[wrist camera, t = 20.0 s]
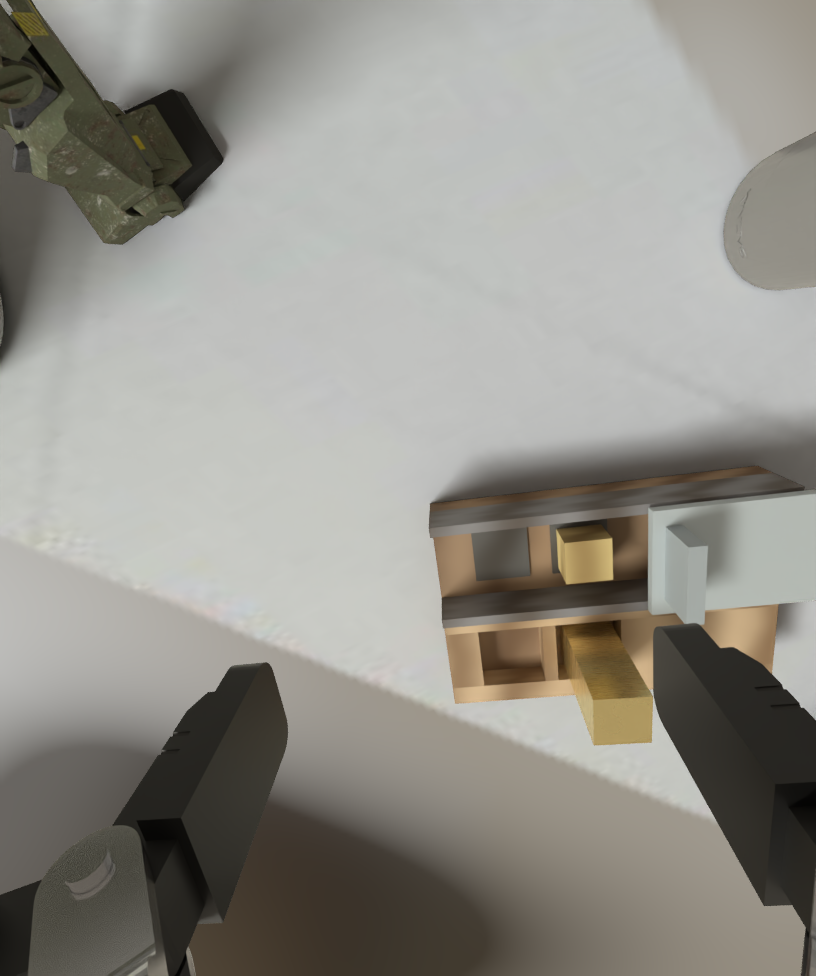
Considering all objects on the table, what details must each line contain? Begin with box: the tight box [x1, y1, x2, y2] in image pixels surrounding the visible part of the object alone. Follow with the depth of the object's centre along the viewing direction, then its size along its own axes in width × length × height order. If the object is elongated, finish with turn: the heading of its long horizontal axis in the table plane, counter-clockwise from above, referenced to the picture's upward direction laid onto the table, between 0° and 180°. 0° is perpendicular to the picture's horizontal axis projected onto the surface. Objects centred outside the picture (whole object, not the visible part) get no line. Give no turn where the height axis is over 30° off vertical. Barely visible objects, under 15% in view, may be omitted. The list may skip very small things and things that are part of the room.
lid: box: [648, 489, 816, 625], centre depth 35 cm, size 12×9×4 cm
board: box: [429, 466, 804, 704], centre depth 42 cm, size 27×18×6 cm, turn 98°
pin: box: [560, 621, 653, 745], centre depth 39 cm, size 4×4×10 cm
